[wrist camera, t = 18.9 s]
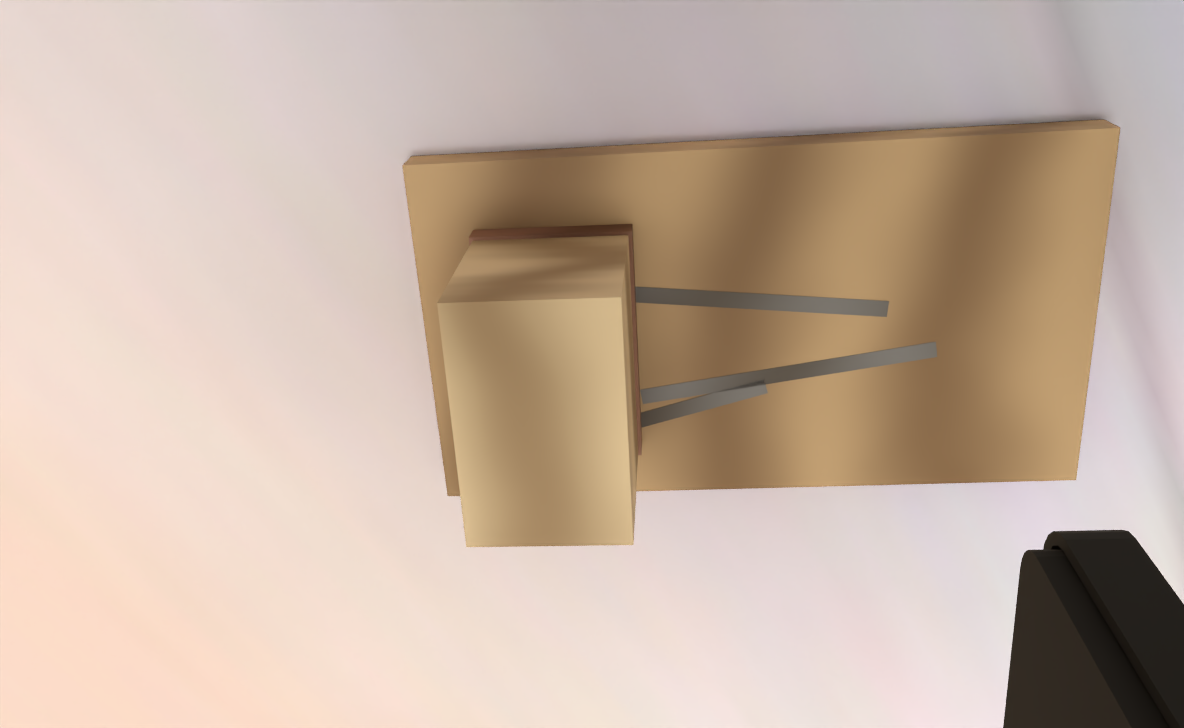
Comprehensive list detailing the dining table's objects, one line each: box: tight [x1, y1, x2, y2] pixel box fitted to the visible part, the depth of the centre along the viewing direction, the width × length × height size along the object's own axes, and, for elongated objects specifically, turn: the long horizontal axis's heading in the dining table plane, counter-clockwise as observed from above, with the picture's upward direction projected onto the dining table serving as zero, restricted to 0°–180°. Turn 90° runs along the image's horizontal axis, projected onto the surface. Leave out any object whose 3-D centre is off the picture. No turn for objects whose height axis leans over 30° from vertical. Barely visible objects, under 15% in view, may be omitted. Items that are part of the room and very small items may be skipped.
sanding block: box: [437, 224, 642, 547], centre depth 30 cm, size 5×7×6 cm, turn 3°
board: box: [402, 120, 1120, 496], centre depth 33 cm, size 20×11×1 cm, turn 94°
